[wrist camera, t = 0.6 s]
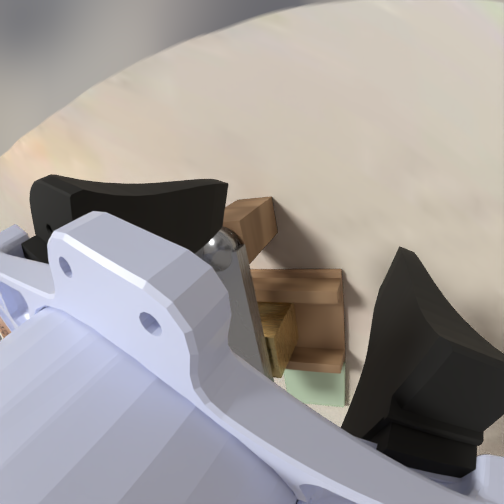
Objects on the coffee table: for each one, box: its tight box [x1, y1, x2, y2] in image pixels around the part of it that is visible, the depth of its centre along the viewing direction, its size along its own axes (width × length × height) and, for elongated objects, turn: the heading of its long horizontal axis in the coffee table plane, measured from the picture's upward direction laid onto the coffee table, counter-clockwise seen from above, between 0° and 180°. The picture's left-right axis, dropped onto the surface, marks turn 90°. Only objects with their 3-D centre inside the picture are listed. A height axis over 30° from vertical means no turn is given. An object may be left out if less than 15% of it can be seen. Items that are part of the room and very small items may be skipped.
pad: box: [284, 362, 345, 407], centre depth 28 cm, size 6×6×1 cm
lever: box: [195, 226, 274, 382], centre depth 20 cm, size 3×14×1 cm, turn 13°
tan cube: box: [257, 301, 299, 378], centre depth 24 cm, size 4×4×5 cm
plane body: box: [223, 197, 345, 374], centre depth 23 cm, size 12×15×6 cm
